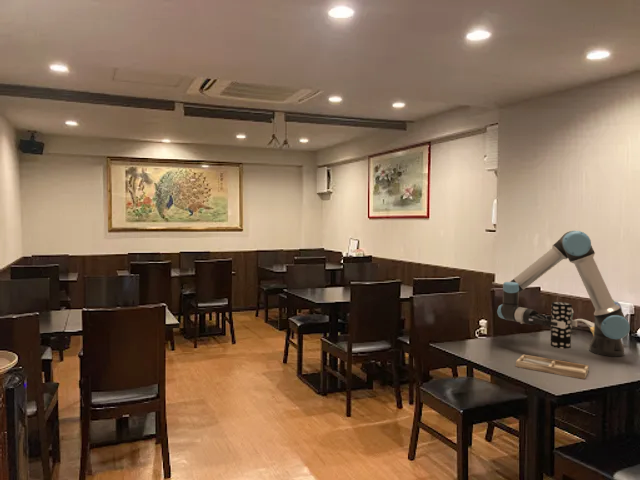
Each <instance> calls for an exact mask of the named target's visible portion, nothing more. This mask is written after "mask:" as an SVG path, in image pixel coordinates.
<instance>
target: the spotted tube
mask: <svg viewBox="0 0 640 480" xmlns="http://www.w3.org/2000/svg"><path fill="white" fill-rule="evenodd" d="M572 305H573V304H572V303H569V302H563V301H553V302H551V309H550V311H551V312H550V315H551V320H555V321H560V322H565V323H566V325H565V329H563V328H558V327H554V326H551V325H550V347H552V348H555V349H556V348H557V349H565V350H566V349H567V350H569V349H571V347H572V346H571V343H572V342H571V341H572V329H571V315H572V309H573V308H572V307H573V306H572Z"/></svg>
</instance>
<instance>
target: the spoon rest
mask: <svg viewBox="0 0 640 480" xmlns="http://www.w3.org/2000/svg"><path fill="white" fill-rule="evenodd" d="M575 320H576V321H577V322H582V323H584V324H585V325H587V327H588V328H589V329H590V327H594V323H595V322H593V321H592V322H591V321H589V320H587V319H585V318H584V319H583V318H577V319H576V318H575ZM572 329H573V326H571V330H572Z"/></svg>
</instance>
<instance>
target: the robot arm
mask: <svg viewBox="0 0 640 480" xmlns="http://www.w3.org/2000/svg"><path fill="white" fill-rule="evenodd" d="M595 254H596V252H595V250H594V248H593V246H592V240H591V239H590V236H589V235H588V234H587V233H585V232H583V231H581V230H570V231H567V232H566V233H564V234H563V235H562V236H561V237H560V238H559V239H558V240H557V241H556V242H555V243H554V244H552V247H551V249H549V250H548V251H547V252H546V253H544V254H543V255H542V256H540V257H539V258H538V259H537V260H536V261H534V262H533V263H531V264H530V265H529V266H528V267H527V268H525V269H524V270H523V271H522V272H520V273H519V274H517V276H515V277H514V278H513V279H511V280H510V281H505V282H503V285H502V304H500V305H498V307H497V309H496V310H497V311H496V313H497V316H498V317H499V318H500V319H503V320H506V321H512V322H517V323H520V324H521V325H523V324H526V325H530V326H533V325H536V324H537V325H541V326H544V327H547V328H551V326H554V327H558V328H563V329H565V325H566V323H565V322H560V321H555V320H551V314H550V315H549V314H542V313H538V311H537V310H536V309H533V308H532V309H531V308H527V307H523V306H522V307H521V306H519V297H520V296H519V294H520V293H521V292H523V291H524V290H525V289H526V288H527V287H529V286H530V285H532V284H533V283H535V282H536V281H537V280H538V279H539V278H541V277H542V276H543V275H545V274H546V273H547V272H549V270H551V269H552V268H553V267H555V266H556V265H558V264H559V263H560V262H562V261H563V260H567V259H568V262H569V263H572V264H573V265H574V267H575V268H576V270H577V273H578V275H579V277H580V279H581V281H582V283H583V286H584V288H585V291H586V292H587V294H588V296H589V298H590V301H591V303H592V305H593V308H594V312H593V316H594V322H593V323H594V336H593V338H592V339H591V342H590V344H589V349H588V350H589V352H591V353H594V354H596V355H601V356H608V357H624V356H625V348H624V345H623V342H622V339H624V338H625V337H627V335H629V333H630V331H631V325H630V322H629V321H628V319H627V318H626V317H625V314H624V312H623V309H621V308H622V307H621V308H620V306H621V305H620V306H617V305H615V304H614V302H613V300H614V299H613V297H612V296H611V293H610V290H609V289H608V286H607V284H606V283H605V280H604V278H603V276H602V274H601V273H602V272H601V271H600V269H599V267H598V265H597V263H596V261H595V258H594V257H595ZM571 326H572V327H577V328H578V321H576V319H572V320H571Z"/></svg>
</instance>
